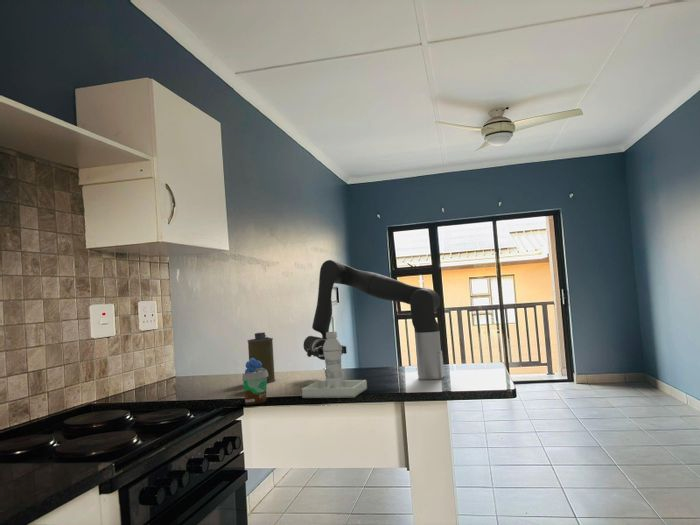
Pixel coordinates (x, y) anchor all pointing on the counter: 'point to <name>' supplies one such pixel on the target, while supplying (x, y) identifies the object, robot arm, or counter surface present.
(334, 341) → the plastic bottle
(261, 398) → the food container
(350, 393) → the tray
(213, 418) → the counter surface
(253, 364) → the grapes
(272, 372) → the canister
